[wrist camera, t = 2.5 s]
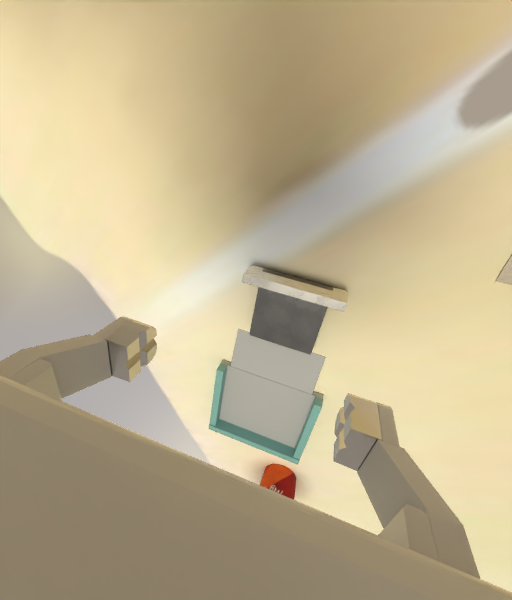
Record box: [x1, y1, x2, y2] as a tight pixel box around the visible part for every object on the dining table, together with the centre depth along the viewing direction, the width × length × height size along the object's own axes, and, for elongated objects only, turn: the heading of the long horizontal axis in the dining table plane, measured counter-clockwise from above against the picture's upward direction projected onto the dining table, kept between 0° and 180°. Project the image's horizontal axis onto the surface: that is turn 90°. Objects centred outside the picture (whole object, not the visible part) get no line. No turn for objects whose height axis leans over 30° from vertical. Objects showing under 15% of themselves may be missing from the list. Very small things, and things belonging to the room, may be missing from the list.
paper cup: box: [260, 464, 296, 500], centre depth 42 cm, size 8×8×14 cm
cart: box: [242, 265, 347, 355], centre depth 31 cm, size 9×11×4 cm
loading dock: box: [209, 329, 325, 464], centre depth 40 cm, size 19×15×4 cm
